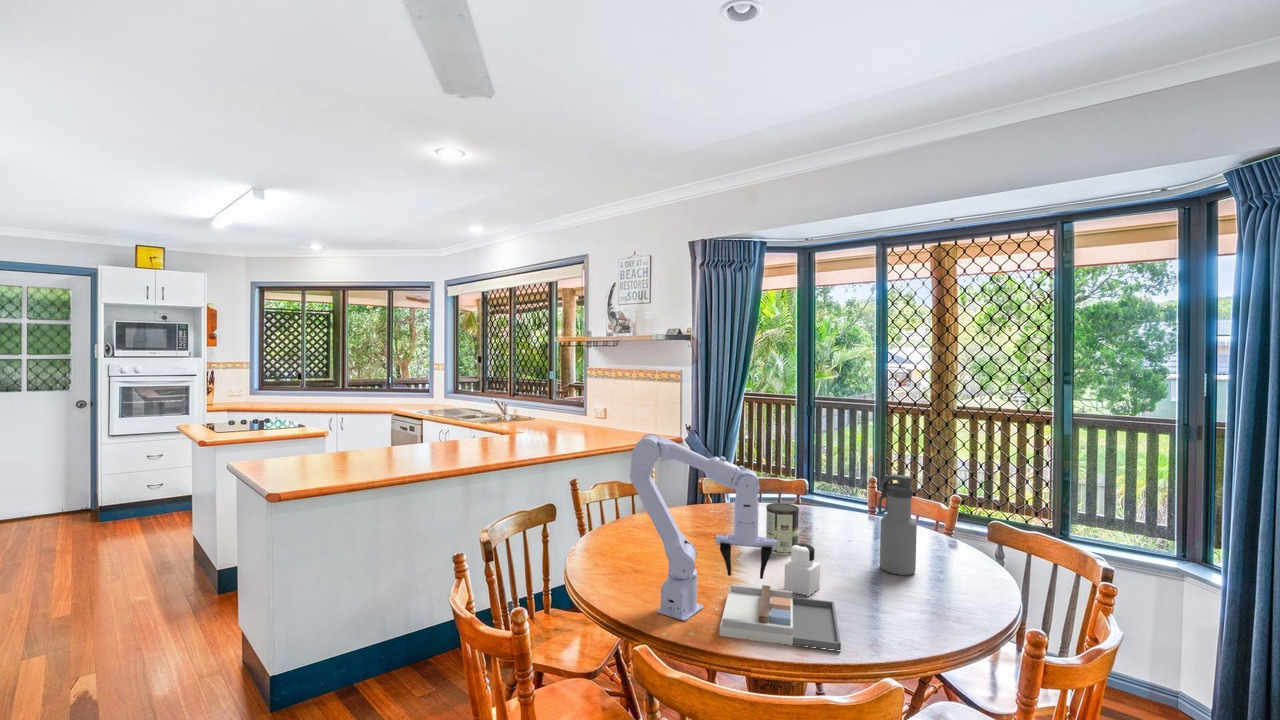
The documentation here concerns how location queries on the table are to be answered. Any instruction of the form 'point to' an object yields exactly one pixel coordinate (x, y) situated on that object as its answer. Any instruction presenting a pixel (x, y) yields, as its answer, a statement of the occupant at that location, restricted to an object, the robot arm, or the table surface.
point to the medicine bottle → (802, 570)
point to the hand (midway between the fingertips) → (745, 575)
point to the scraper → (764, 604)
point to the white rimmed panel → (753, 616)
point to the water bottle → (897, 526)
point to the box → (815, 624)
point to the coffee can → (782, 526)
